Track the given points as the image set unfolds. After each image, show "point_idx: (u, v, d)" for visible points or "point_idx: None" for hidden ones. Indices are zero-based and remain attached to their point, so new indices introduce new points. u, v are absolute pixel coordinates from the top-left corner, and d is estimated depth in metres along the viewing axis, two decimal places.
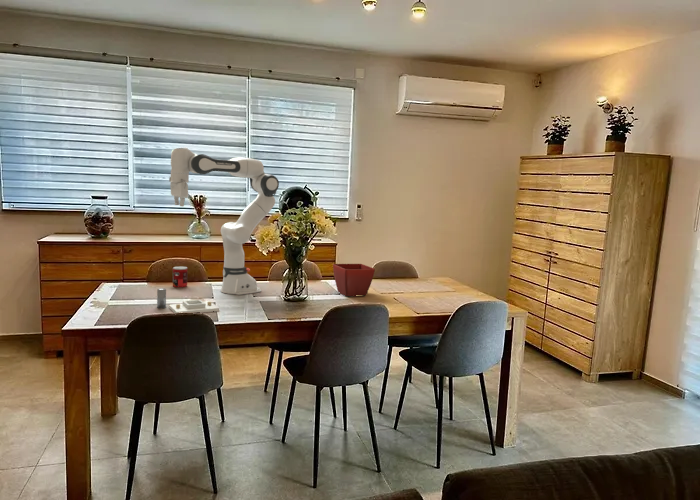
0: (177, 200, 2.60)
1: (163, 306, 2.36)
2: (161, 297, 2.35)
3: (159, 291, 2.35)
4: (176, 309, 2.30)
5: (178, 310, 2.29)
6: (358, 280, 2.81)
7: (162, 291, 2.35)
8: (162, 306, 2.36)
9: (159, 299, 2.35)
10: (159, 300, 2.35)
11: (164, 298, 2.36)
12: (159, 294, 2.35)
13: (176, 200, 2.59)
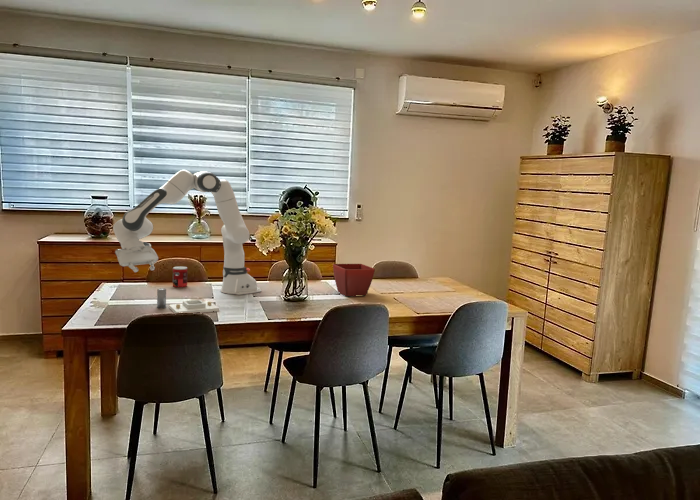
0: (152, 265, 2.46)
1: (163, 306, 2.36)
2: (161, 297, 2.35)
3: (159, 291, 2.35)
4: (176, 309, 2.30)
5: (178, 310, 2.29)
6: (358, 280, 2.81)
7: (162, 291, 2.35)
8: (162, 306, 2.36)
9: (159, 299, 2.35)
10: (159, 300, 2.35)
11: (164, 298, 2.36)
12: (159, 294, 2.35)
13: (151, 265, 2.47)
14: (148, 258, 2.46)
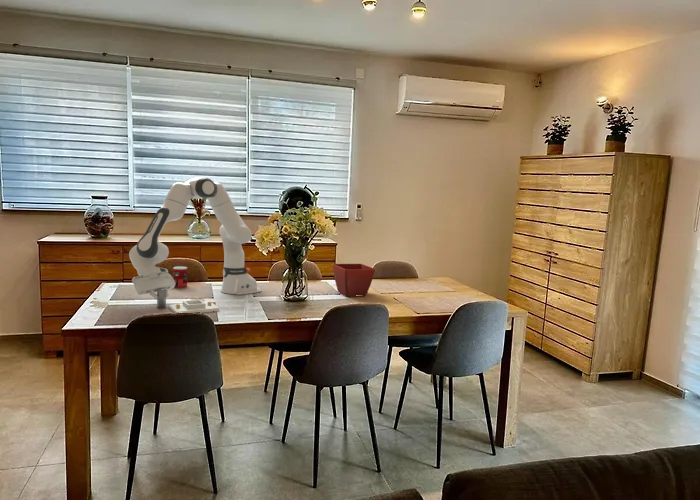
0: None
1: (163, 306, 2.36)
2: (161, 297, 2.35)
3: (159, 291, 2.35)
4: (176, 309, 2.30)
5: (178, 310, 2.29)
6: (358, 280, 2.81)
7: (162, 291, 2.35)
8: (162, 306, 2.36)
9: (159, 299, 2.35)
10: (159, 300, 2.35)
11: (164, 298, 2.36)
12: (159, 294, 2.35)
13: None
14: (165, 284, 2.41)
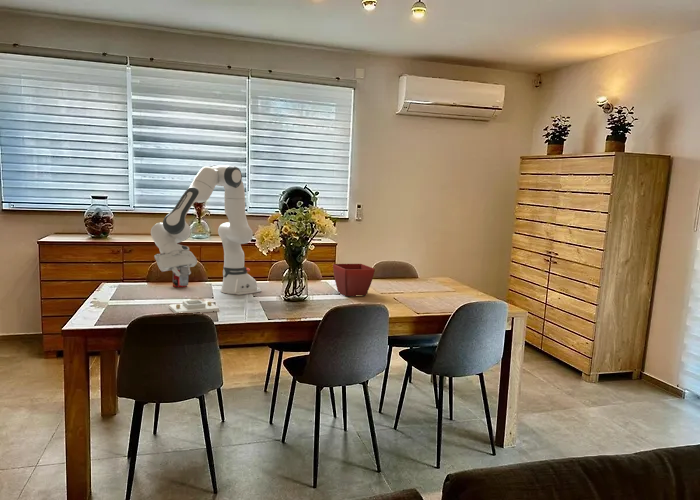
0: (188, 269, 2.38)
1: (185, 283, 2.35)
2: (183, 274, 2.34)
3: (181, 268, 2.33)
4: (176, 309, 2.30)
5: (178, 310, 2.29)
6: (358, 280, 2.81)
7: (184, 268, 2.33)
8: (184, 283, 2.35)
9: (181, 276, 2.34)
10: (181, 277, 2.34)
11: (186, 275, 2.35)
12: (181, 271, 2.33)
13: None
14: (187, 262, 2.39)
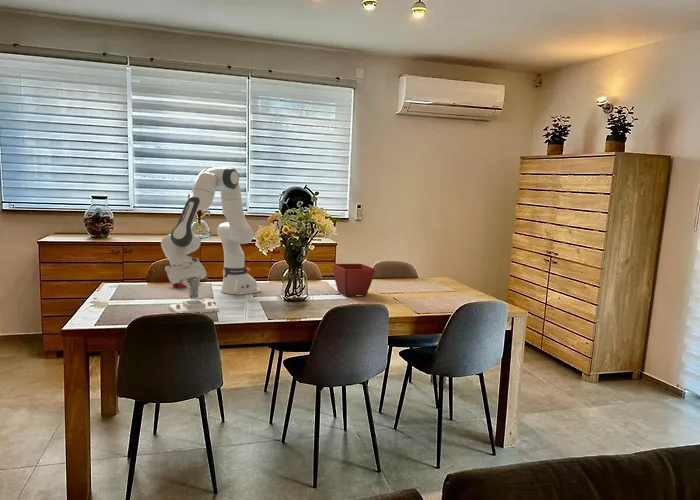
0: None
1: (195, 296, 2.35)
2: (194, 287, 2.34)
3: (192, 280, 2.33)
4: (176, 309, 2.30)
5: (178, 310, 2.29)
6: (358, 280, 2.81)
7: (195, 280, 2.34)
8: (194, 296, 2.35)
9: (192, 289, 2.34)
10: (192, 290, 2.34)
11: (196, 288, 2.35)
12: (192, 283, 2.34)
13: None
14: (197, 274, 2.40)
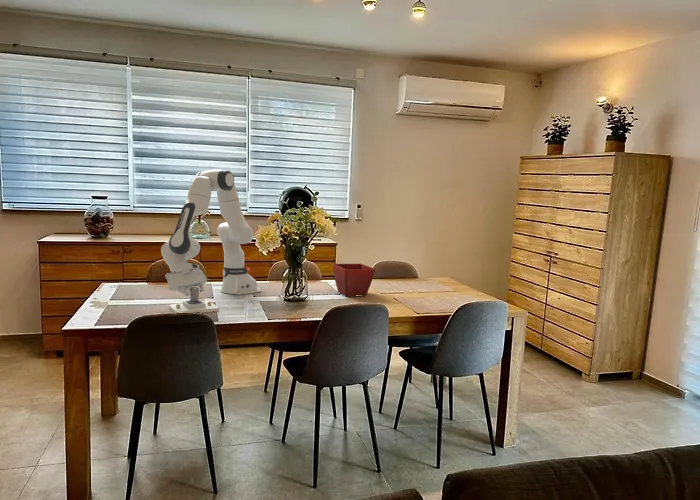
0: (201, 287, 2.41)
1: None
2: (194, 296, 2.35)
3: (192, 290, 2.34)
4: (176, 309, 2.30)
5: (178, 310, 2.29)
6: (358, 280, 2.81)
7: (195, 290, 2.34)
8: None
9: (192, 298, 2.35)
10: (192, 299, 2.35)
11: (197, 297, 2.36)
12: (192, 293, 2.34)
13: (200, 288, 2.41)
14: (197, 280, 2.40)
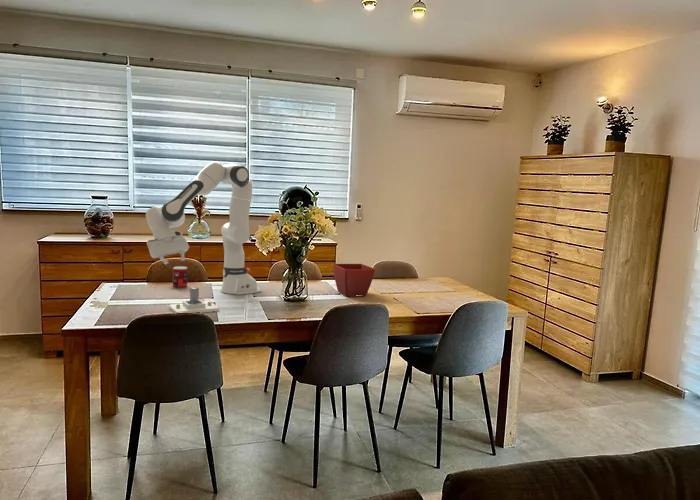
0: (182, 255, 2.47)
1: None
2: (194, 296, 2.35)
3: (192, 290, 2.34)
4: (176, 309, 2.30)
5: (178, 310, 2.29)
6: (358, 280, 2.81)
7: (195, 290, 2.34)
8: None
9: (192, 298, 2.35)
10: (192, 299, 2.35)
11: (197, 297, 2.36)
12: (192, 293, 2.34)
13: (182, 256, 2.47)
14: (179, 248, 2.46)
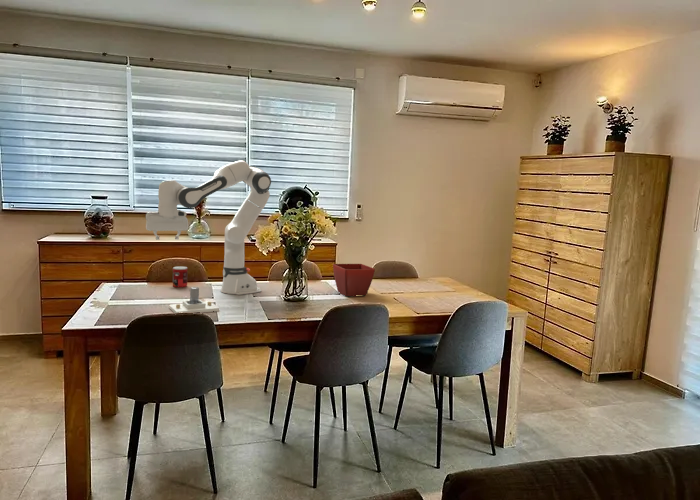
0: (177, 234, 2.51)
1: None
2: (194, 296, 2.35)
3: (192, 290, 2.34)
4: (176, 309, 2.30)
5: (178, 310, 2.29)
6: (358, 280, 2.81)
7: (195, 290, 2.35)
8: None
9: (192, 298, 2.35)
10: (192, 299, 2.35)
11: (197, 297, 2.36)
12: (192, 293, 2.34)
13: (177, 234, 2.52)
14: (176, 228, 2.49)
